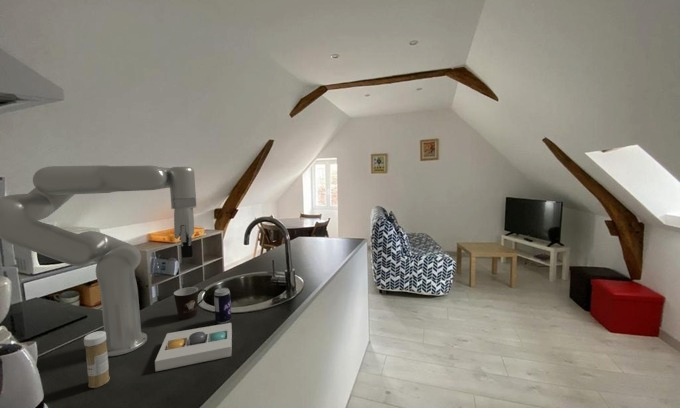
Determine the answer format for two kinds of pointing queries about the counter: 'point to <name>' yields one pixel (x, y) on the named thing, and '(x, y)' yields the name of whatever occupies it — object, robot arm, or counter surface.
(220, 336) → the teal button
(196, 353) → the panel
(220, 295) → the beverage can
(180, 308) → the coffee mug
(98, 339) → the sprinkles bottle
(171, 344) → the orange button
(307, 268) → the counter surface
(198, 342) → the charcoal button
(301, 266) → the counter surface
